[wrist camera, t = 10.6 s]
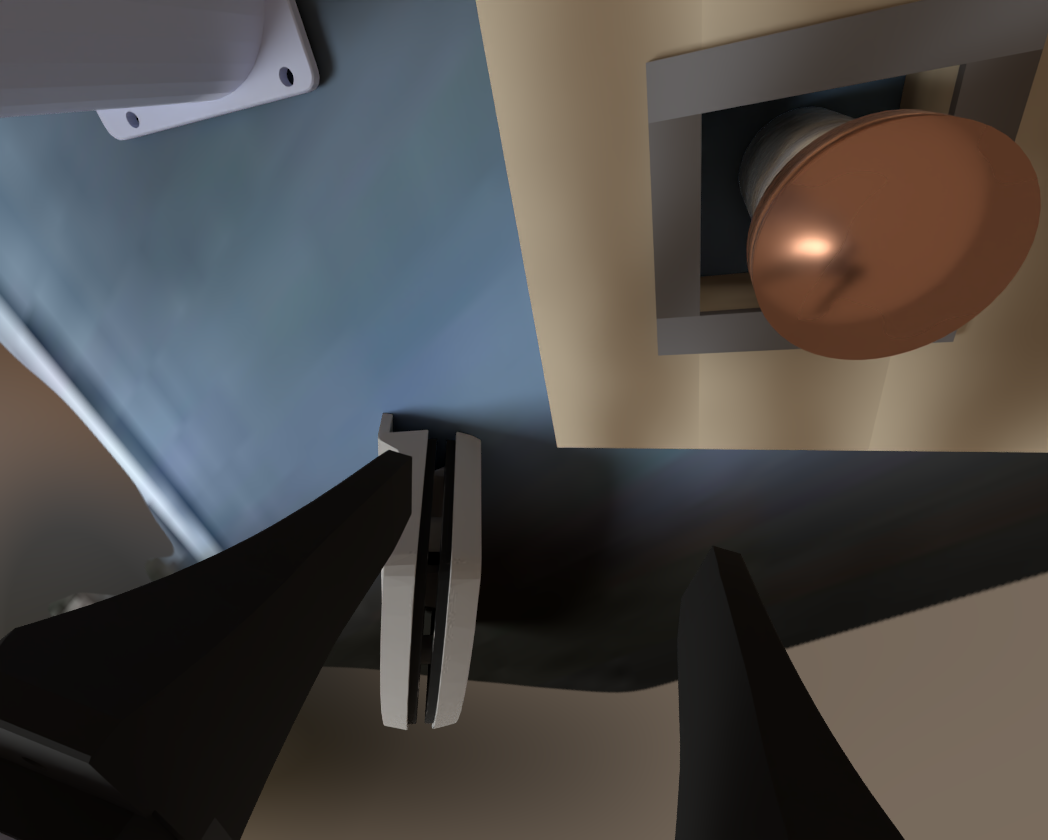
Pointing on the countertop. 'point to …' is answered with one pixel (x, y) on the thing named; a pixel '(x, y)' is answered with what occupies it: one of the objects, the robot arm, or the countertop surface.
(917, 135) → the pin
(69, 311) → the countertop surface
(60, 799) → the robot arm
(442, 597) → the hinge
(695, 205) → the block
